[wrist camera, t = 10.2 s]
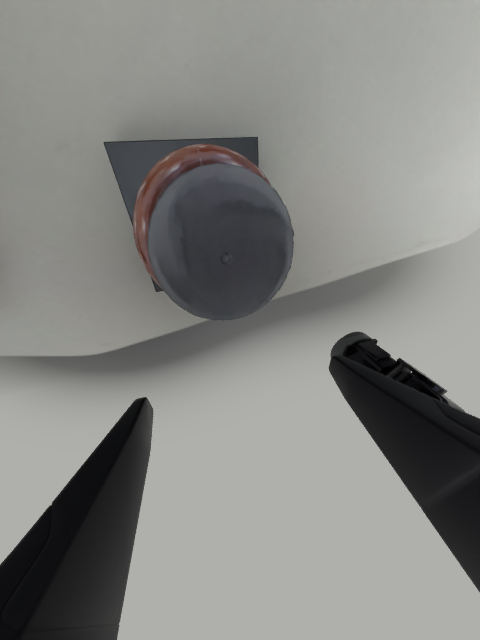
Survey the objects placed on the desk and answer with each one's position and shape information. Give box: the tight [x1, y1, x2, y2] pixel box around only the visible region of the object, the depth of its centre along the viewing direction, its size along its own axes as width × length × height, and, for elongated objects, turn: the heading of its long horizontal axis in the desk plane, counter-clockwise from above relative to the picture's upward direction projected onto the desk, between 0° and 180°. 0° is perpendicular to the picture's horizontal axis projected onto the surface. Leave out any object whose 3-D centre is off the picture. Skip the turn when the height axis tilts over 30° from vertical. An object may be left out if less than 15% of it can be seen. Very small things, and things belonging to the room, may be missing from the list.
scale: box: [104, 137, 259, 292], centre depth 15 cm, size 10×10×2 cm
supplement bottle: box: [133, 144, 294, 320], centre depth 9 cm, size 6×6×11 cm
